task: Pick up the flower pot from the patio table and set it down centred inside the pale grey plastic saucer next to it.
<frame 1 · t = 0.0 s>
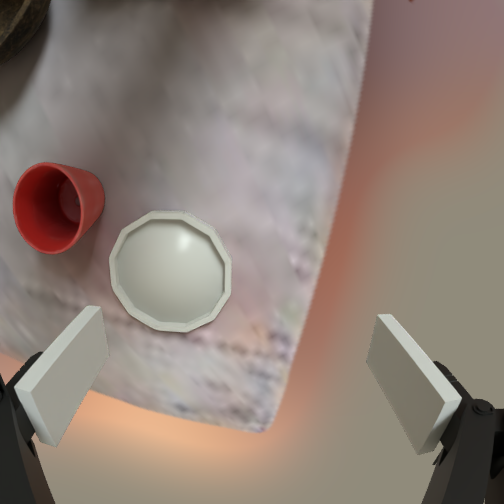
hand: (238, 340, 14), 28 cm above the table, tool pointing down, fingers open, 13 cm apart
flower pot: (82, 198, 40), on the table
bowl: (20, 24, 31), on the table
saucer: (170, 271, 43), on the table
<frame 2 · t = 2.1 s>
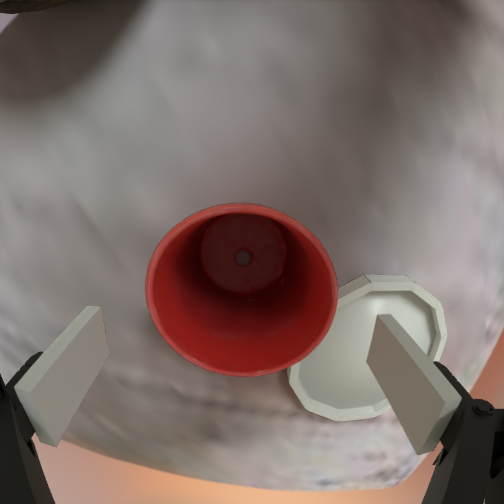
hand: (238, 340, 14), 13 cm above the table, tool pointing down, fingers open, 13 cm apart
flower pot: (243, 251, 27), on the table
saucer: (369, 351, 30), on the table
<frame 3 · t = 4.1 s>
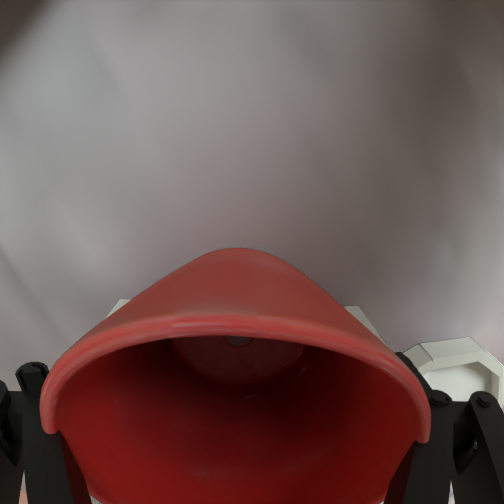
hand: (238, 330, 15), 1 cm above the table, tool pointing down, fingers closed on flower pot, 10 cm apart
flower pot: (238, 320, 16), on the table, touching gripper
saucer: (409, 431, 19), on the table
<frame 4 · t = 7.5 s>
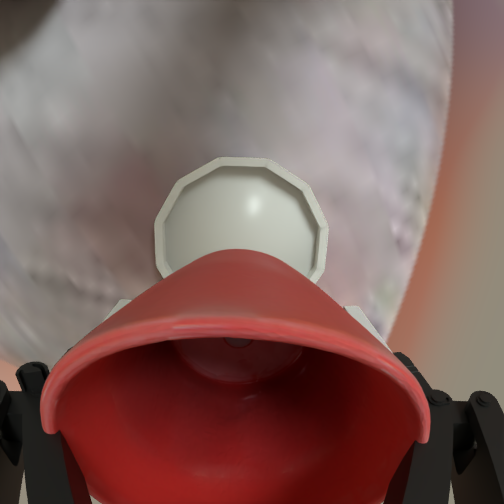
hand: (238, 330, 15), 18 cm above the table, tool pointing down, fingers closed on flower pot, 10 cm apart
flower pot: (238, 321, 16), point 17 cm above the table, touching gripper
saucer: (240, 241, 32), on the table
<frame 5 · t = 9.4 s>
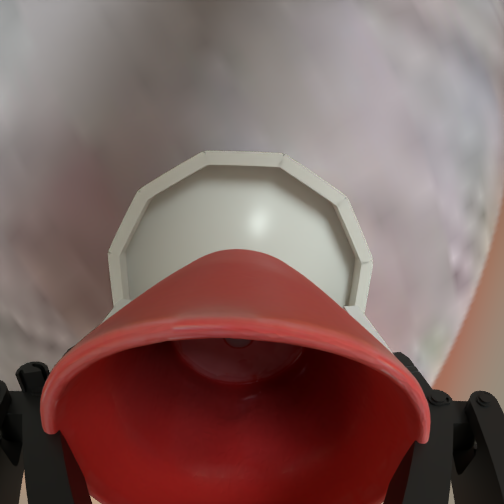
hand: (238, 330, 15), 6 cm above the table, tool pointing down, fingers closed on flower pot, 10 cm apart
flower pot: (238, 321, 16), point 5 cm above the table, touching gripper
saucer: (239, 281, 21), on the table
when the fingers open (3 cm above the table, at t = 11.1 s): flower pot drops 1 cm, resting on saucer.
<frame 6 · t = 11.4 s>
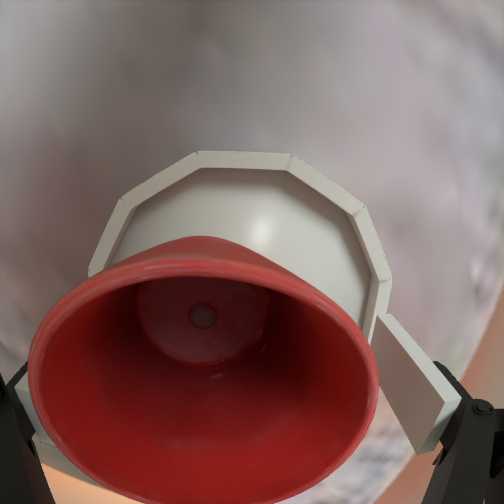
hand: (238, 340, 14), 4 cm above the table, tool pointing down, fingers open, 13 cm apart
flower pot: (202, 304, 17), point 1 cm above the table, touching gripper, saucer
saucer: (239, 301, 18), on the table
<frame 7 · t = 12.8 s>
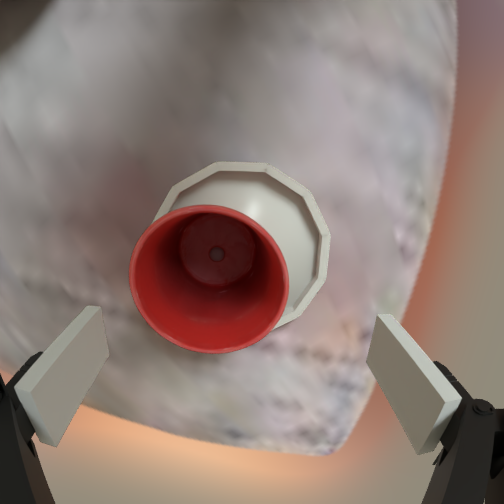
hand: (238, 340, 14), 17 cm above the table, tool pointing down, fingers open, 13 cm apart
flower pot: (217, 249, 30), resting on saucer
saucer: (239, 250, 31), on the table
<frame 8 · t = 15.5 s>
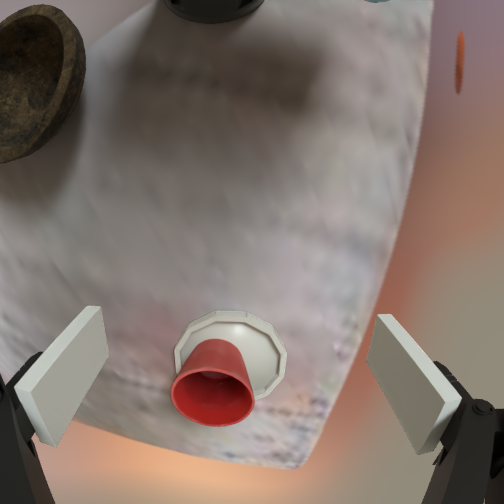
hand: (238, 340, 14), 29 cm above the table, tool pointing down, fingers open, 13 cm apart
flower pot: (216, 358, 47), resting on saucer
bowl: (46, 90, 35), on the table
saucer: (230, 358, 47), on the table
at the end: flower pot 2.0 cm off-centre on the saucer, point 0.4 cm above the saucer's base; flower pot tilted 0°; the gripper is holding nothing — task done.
